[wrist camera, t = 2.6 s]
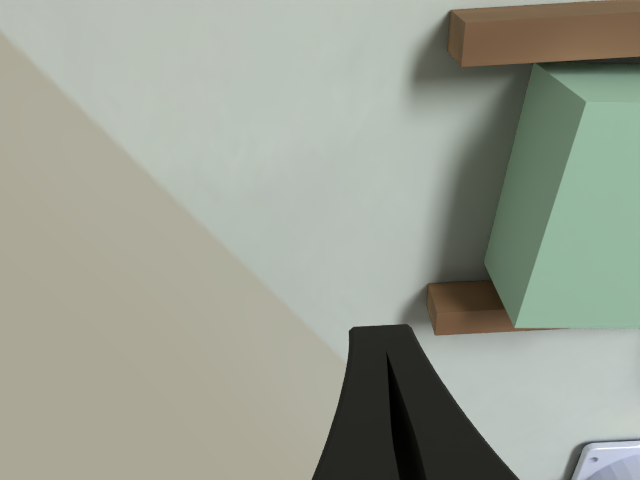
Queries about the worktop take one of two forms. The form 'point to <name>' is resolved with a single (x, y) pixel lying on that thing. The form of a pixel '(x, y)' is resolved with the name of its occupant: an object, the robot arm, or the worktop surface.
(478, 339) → the worktop surface
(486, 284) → the guide bay
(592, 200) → the sage block
